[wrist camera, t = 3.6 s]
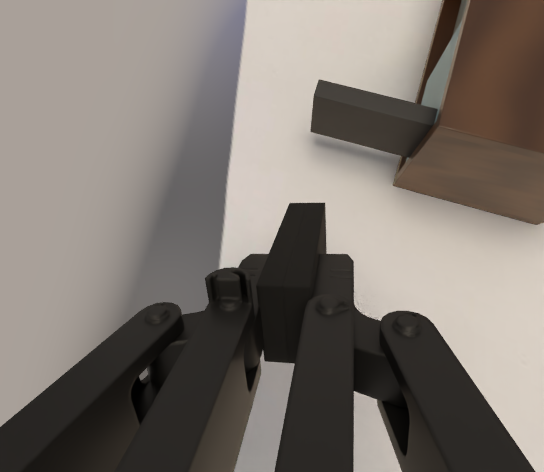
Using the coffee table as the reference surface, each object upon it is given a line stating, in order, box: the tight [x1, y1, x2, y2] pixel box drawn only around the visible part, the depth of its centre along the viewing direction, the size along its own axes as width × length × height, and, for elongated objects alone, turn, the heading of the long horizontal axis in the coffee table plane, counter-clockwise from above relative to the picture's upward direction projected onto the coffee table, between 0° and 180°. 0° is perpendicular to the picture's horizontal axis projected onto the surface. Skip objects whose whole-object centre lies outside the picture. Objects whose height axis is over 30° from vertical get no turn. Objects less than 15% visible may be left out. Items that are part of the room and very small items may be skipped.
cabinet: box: [393, 0, 544, 225], centre depth 27 cm, size 11×18×10 cm, turn 163°
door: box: [311, 19, 463, 162], centre depth 27 cm, size 8×8×8 cm
